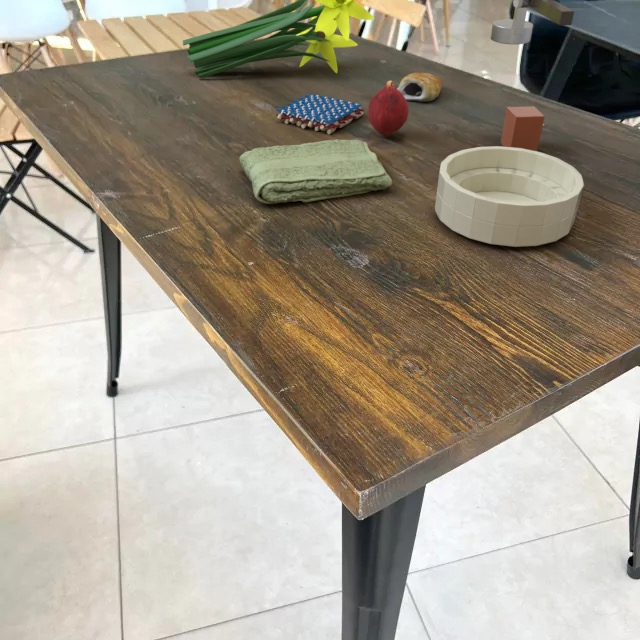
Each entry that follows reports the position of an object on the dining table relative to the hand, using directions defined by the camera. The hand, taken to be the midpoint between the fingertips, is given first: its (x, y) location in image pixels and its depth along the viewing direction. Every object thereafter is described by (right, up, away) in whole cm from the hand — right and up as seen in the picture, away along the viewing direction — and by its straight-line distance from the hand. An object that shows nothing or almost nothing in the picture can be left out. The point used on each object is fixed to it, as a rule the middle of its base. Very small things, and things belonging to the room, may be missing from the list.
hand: (532, 6), depth 79 cm
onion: (-16, -11, +17) cm, 26 cm away
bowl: (-5, -26, -3) cm, 27 cm away
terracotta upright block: (+2, -14, +13) cm, 19 cm away
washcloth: (-27, -20, +5) cm, 34 cm away
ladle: (0, -5, +2) cm, 5 cm away
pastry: (-9, 0, +32) cm, 33 cm away
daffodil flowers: (-34, +7, +41) cm, 54 cm away
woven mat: (-26, -7, +22) cm, 35 cm away
